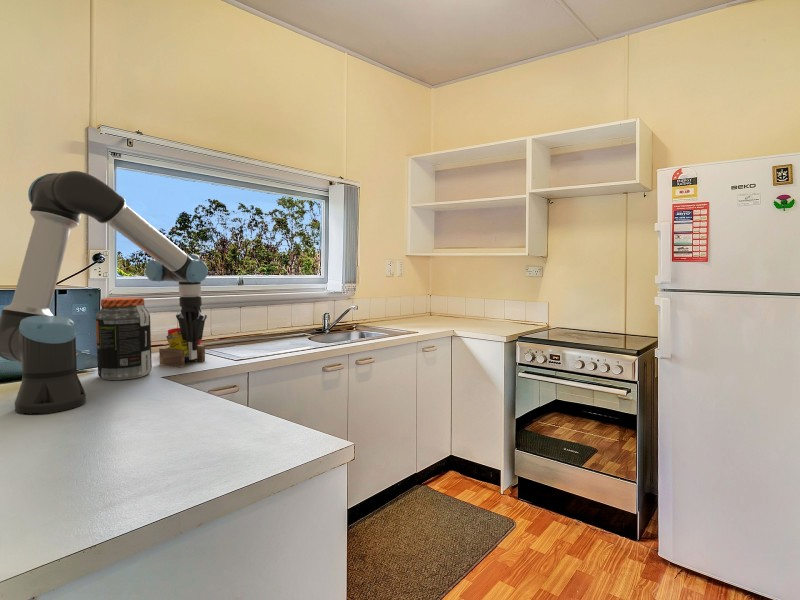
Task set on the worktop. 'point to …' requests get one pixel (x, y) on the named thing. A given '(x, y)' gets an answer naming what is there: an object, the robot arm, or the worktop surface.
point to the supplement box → (178, 343)
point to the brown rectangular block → (178, 356)
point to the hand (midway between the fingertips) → (193, 358)
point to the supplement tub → (123, 339)
